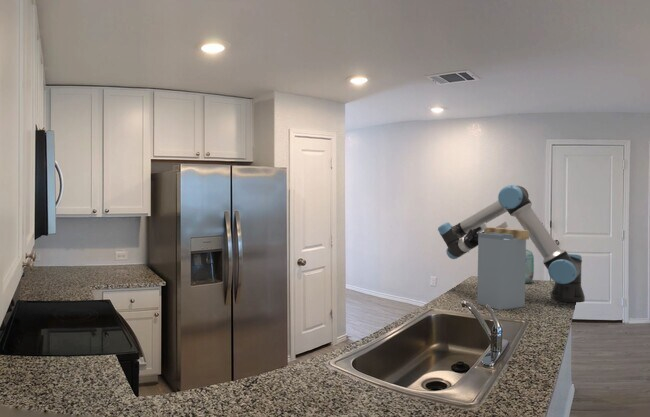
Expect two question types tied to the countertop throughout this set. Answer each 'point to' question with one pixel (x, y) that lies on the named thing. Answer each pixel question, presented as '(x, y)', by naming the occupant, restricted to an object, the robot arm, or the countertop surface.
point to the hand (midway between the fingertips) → (496, 224)
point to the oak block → (509, 232)
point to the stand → (501, 271)
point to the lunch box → (529, 266)
